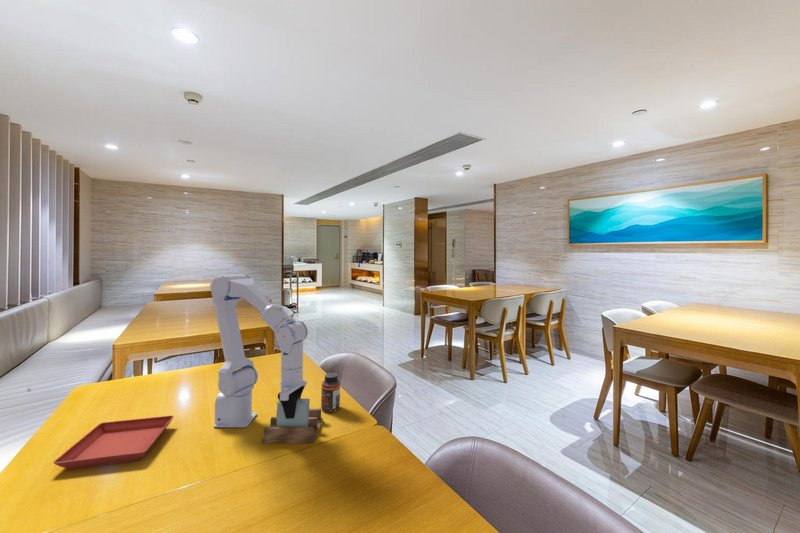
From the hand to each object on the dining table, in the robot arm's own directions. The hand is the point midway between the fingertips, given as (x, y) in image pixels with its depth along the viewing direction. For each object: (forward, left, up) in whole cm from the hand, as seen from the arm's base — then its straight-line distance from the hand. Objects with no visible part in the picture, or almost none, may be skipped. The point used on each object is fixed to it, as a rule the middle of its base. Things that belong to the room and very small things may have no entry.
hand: (291, 414), depth 91 cm
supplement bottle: (+8, +16, -6) cm, 19 cm away
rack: (0, +3, -6) cm, 7 cm away
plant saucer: (-42, -5, -7) cm, 43 cm away
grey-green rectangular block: (0, 0, -3) cm, 3 cm away
